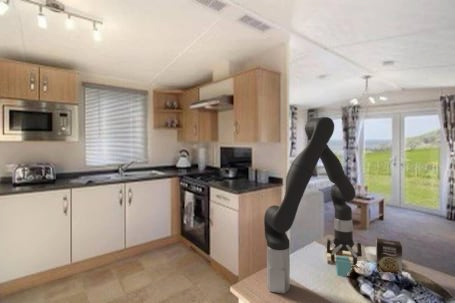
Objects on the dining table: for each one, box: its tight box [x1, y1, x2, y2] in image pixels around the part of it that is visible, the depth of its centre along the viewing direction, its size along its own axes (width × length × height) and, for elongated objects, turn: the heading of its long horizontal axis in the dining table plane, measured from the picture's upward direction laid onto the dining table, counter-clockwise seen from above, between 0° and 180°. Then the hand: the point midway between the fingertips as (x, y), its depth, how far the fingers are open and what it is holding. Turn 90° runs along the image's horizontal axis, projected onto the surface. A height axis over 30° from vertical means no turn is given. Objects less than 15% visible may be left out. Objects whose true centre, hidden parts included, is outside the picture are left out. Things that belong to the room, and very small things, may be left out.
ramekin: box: [364, 246, 376, 263], centre depth 119 cm, size 11×11×5 cm
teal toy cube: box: [335, 255, 352, 277], centre depth 108 cm, size 5×5×7 cm
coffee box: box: [375, 237, 403, 276], centre depth 104 cm, size 9×6×16 cm
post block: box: [324, 245, 353, 266], centre depth 123 cm, size 16×12×8 cm
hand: (343, 263), depth 109 cm, fingers open, 8 cm apart
